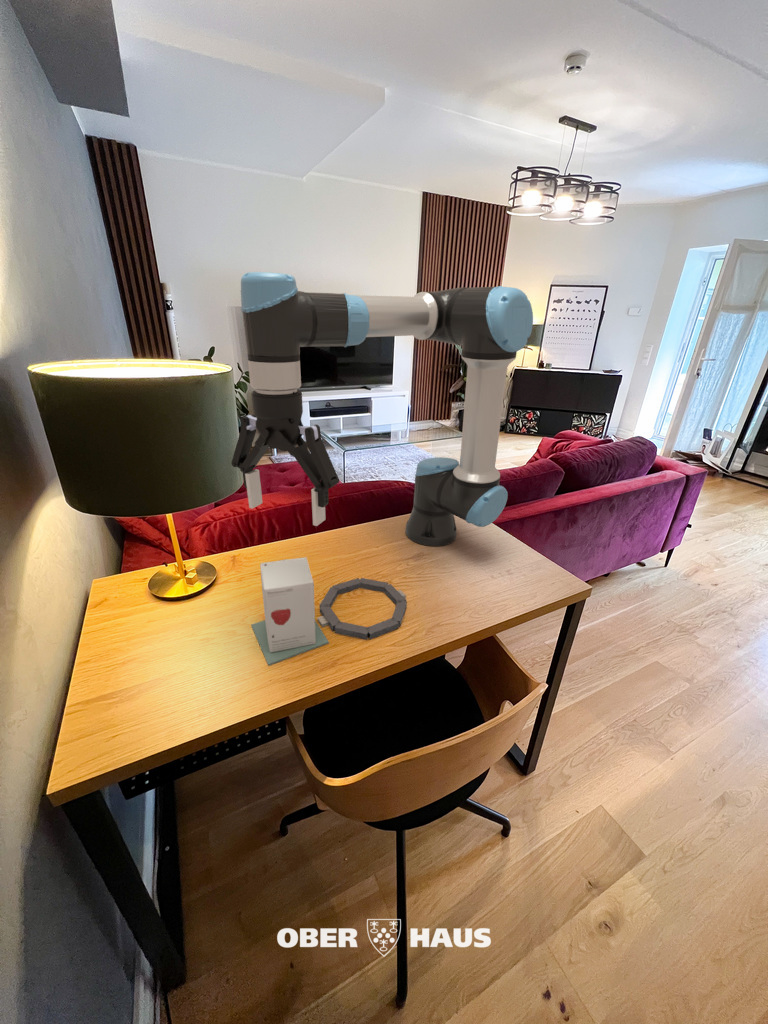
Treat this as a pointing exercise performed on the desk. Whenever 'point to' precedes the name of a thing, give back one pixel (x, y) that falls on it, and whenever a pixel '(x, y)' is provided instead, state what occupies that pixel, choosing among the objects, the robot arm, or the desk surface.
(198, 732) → the desk surface
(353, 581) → the socket collar
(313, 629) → the supplement box
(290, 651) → the felt pad
